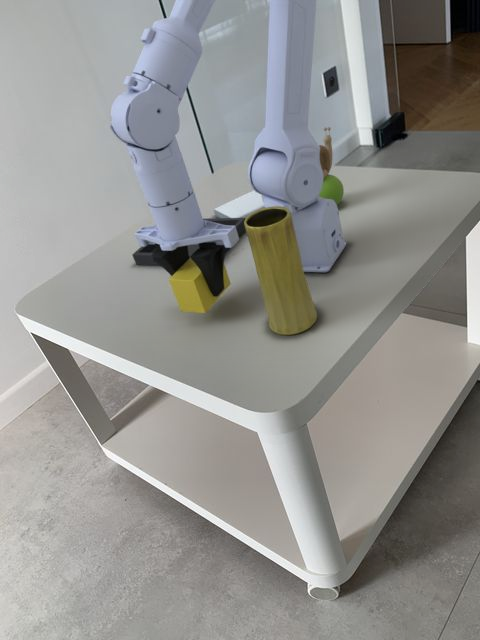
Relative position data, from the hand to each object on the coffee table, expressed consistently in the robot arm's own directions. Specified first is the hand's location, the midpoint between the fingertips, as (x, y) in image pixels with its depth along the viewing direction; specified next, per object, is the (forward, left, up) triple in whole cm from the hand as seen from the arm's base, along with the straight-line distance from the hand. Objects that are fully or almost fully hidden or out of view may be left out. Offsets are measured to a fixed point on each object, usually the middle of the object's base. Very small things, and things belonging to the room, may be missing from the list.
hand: (204, 291), depth 74 cm
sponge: (0, 0, -1) cm, 1 cm away
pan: (+14, -17, -3) cm, 22 cm away
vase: (-13, +1, -3) cm, 13 cm away
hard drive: (+9, -31, -3) cm, 32 cm away
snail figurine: (-6, -31, -3) cm, 32 cm away
